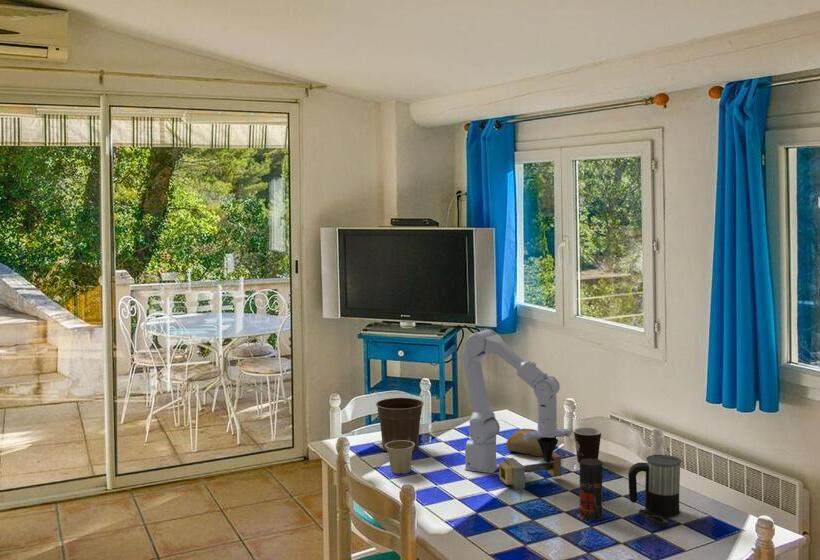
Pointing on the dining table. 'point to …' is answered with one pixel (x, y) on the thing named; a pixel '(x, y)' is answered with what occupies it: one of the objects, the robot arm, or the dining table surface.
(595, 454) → the coffee mug
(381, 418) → the plant pot
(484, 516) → the dining table surface
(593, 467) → the deodorant
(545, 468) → the shaft
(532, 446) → the bread roll
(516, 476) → the bearing
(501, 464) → the frame
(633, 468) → the milk frother
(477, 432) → the robot arm
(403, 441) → the flower pot
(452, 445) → the dining table surface
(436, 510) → the dining table surface
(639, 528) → the dining table surface
